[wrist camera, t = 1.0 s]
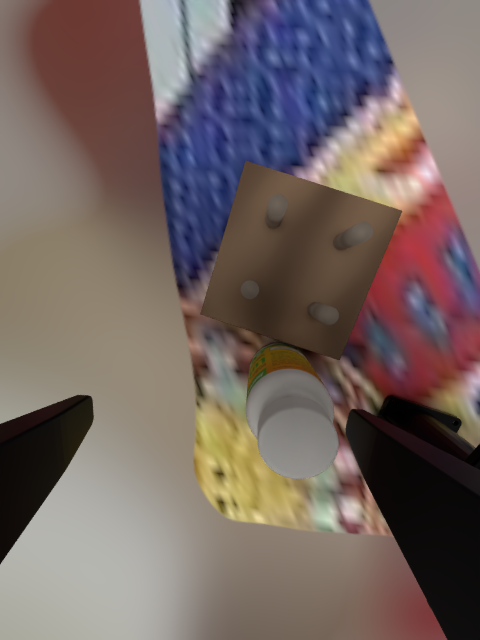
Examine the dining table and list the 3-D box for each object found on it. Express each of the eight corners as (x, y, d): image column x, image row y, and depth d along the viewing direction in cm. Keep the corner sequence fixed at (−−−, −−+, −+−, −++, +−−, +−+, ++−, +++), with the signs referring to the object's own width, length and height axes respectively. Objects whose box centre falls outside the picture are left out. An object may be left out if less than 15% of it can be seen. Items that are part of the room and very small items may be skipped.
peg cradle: (390, 216, 18) (440, 192, 13) (333, 354, 20) (358, 377, 15) (246, 170, 18) (243, 129, 13) (204, 312, 20) (188, 321, 16)
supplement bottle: (255, 336, 21) (254, 383, 11) (315, 348, 20) (367, 406, 11) (244, 391, 21) (234, 479, 12) (301, 403, 21) (338, 502, 12)
